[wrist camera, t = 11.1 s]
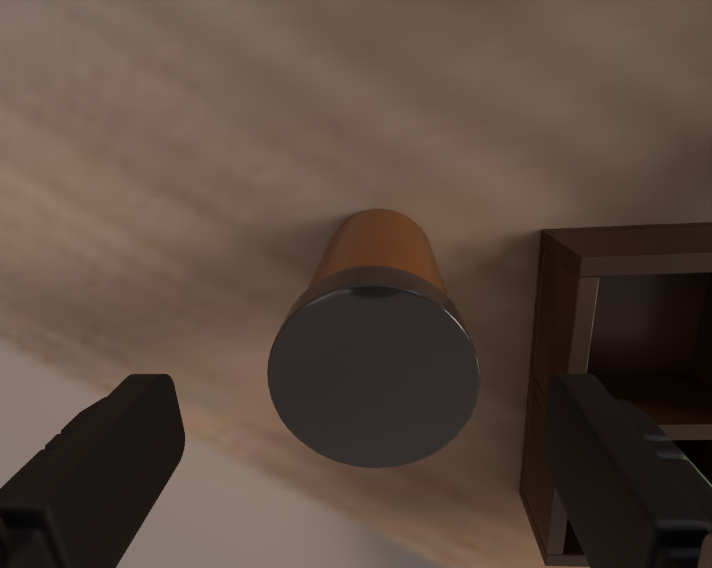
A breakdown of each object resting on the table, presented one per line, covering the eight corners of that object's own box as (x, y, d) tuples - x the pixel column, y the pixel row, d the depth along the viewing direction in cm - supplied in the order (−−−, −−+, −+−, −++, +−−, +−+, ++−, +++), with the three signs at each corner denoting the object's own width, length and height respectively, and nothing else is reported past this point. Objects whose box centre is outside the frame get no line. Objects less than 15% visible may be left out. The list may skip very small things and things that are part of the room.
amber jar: (318, 207, 21) (253, 288, 11) (436, 201, 21) (484, 279, 10) (327, 314, 23) (280, 469, 13) (436, 311, 23) (477, 468, 12)
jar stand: (541, 229, 21) (581, 257, 17) (730, 221, 20) (824, 248, 16) (519, 493, 26) (544, 566, 22) (668, 494, 26) (725, 569, 21)
